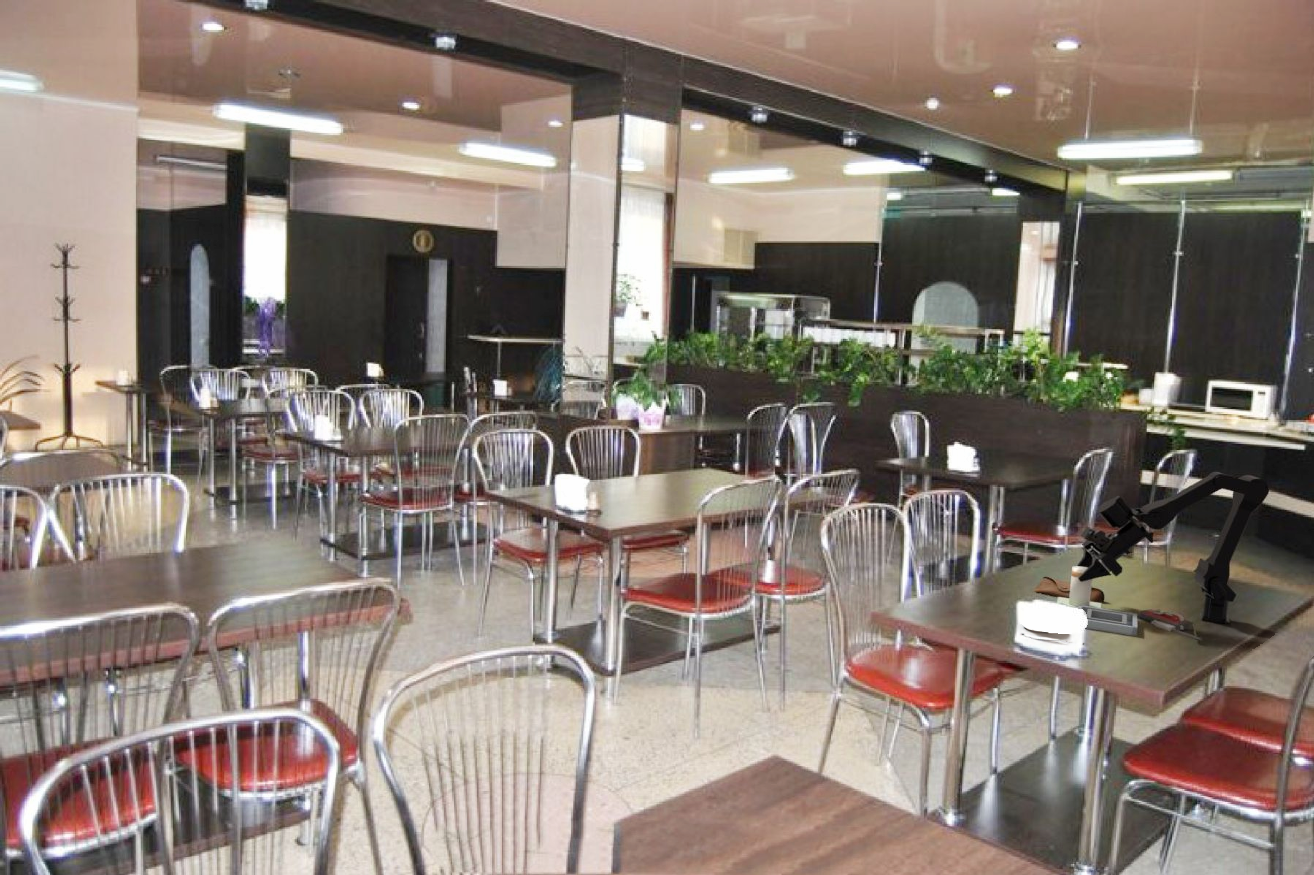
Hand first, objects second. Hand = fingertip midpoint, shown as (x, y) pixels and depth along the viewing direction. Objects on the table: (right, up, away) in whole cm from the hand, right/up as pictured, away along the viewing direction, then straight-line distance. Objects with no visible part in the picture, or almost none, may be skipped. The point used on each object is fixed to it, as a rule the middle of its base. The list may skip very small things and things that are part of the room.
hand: (1076, 577), depth 270 cm
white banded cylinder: (+1, -7, +1) cm, 8 cm away
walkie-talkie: (+18, -12, -15) cm, 27 cm away
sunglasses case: (+3, -8, +13) cm, 15 cm away
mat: (+1, -8, +1) cm, 9 cm away
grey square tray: (+1, -11, -16) cm, 19 cm away
